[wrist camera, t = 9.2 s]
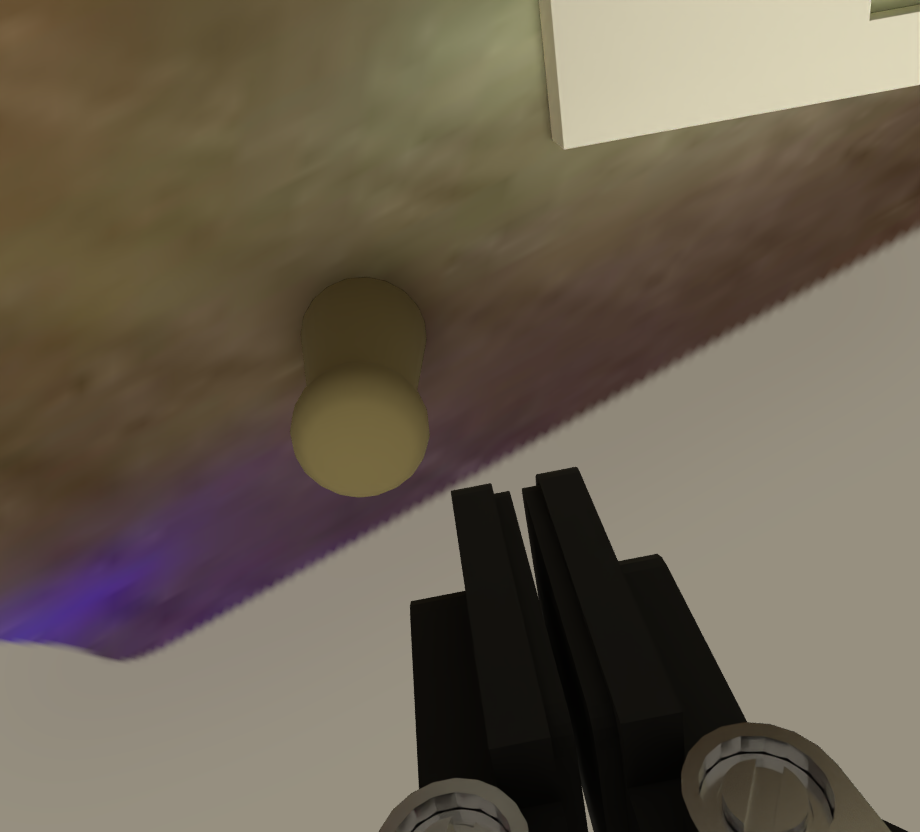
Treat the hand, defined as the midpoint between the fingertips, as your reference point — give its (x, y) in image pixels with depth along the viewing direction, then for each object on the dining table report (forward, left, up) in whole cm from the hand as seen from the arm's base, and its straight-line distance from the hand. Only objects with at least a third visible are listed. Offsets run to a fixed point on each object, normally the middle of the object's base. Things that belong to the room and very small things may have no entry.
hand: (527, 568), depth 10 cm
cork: (+7, -4, -27) cm, 29 cm away
